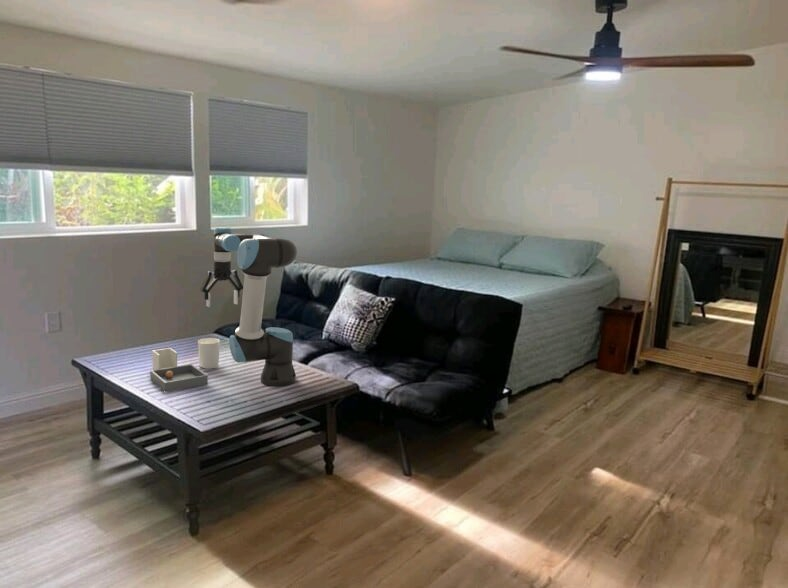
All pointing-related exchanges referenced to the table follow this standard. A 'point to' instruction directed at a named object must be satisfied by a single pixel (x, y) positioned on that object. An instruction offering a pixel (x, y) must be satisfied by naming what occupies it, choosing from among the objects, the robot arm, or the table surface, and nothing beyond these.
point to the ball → (169, 374)
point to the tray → (179, 377)
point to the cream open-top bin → (164, 358)
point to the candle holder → (209, 352)
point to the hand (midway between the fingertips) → (222, 305)
